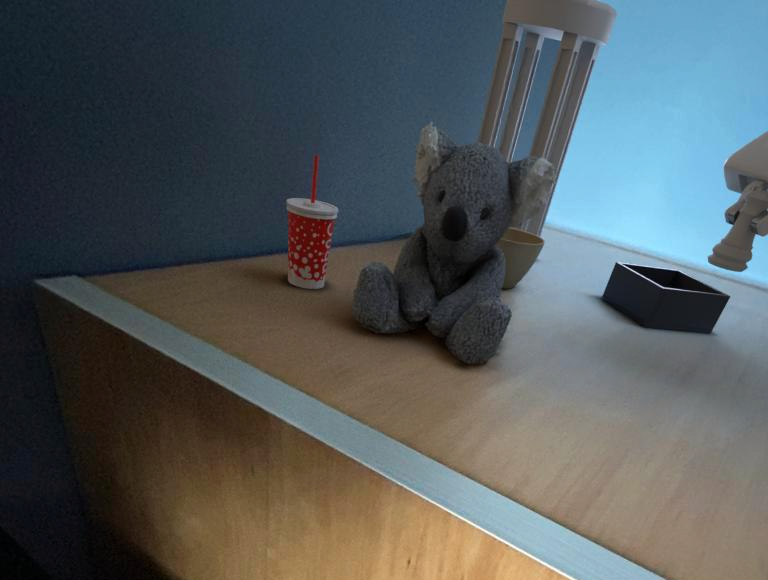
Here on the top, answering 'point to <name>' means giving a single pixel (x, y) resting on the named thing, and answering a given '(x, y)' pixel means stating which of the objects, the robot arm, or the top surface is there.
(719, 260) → the rook chess piece
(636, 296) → the bin
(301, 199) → the beverage cup
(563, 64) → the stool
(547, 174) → the koala plush
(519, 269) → the flower pot
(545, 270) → the top surface
